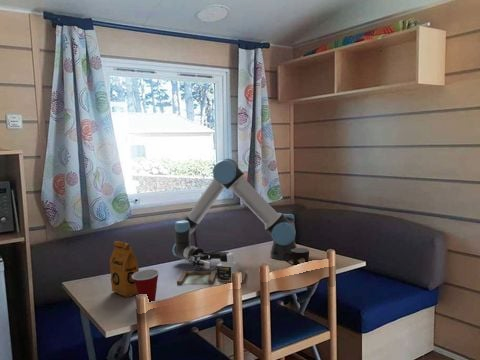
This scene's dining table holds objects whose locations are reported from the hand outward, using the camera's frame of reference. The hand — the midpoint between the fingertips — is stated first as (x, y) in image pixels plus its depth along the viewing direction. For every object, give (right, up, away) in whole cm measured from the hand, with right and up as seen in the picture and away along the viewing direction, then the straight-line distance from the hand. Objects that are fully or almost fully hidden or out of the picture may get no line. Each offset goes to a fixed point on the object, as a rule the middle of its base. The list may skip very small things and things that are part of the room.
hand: (220, 262), depth 193 cm
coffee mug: (+37, -5, +6) cm, 38 cm away
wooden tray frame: (-4, -7, -1) cm, 8 cm away
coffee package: (-40, -10, -15) cm, 44 cm away
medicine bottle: (+3, -7, -2) cm, 8 cm away
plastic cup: (-28, -11, -27) cm, 41 cm away
